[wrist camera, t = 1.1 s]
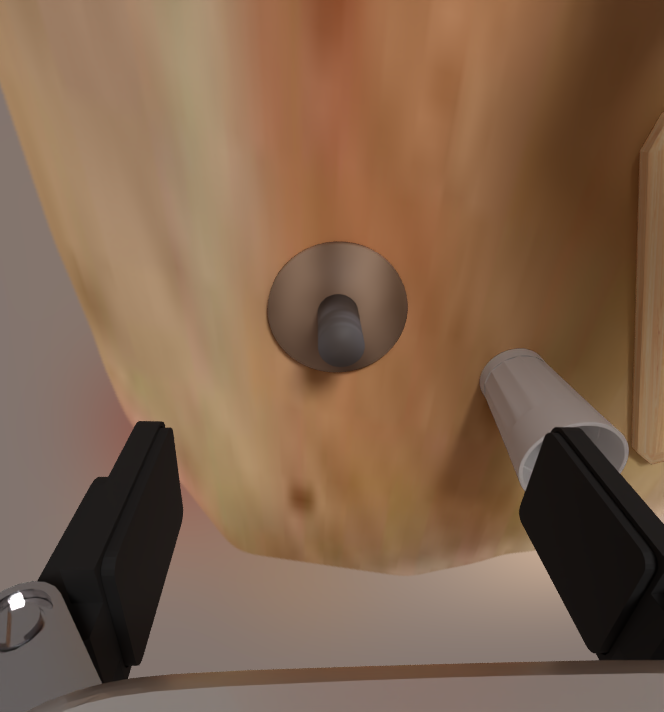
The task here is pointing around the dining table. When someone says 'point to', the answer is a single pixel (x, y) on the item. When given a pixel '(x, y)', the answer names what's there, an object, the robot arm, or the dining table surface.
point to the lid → (337, 307)
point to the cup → (541, 410)
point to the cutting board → (650, 302)
